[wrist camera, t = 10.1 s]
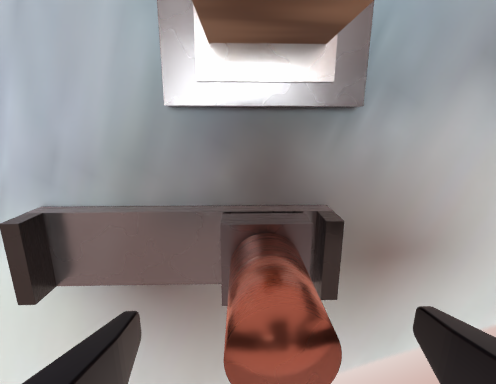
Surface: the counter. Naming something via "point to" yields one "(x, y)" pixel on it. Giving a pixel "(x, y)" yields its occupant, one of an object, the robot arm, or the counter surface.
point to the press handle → (273, 303)
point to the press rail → (144, 246)
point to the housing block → (276, 20)
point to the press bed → (259, 66)
